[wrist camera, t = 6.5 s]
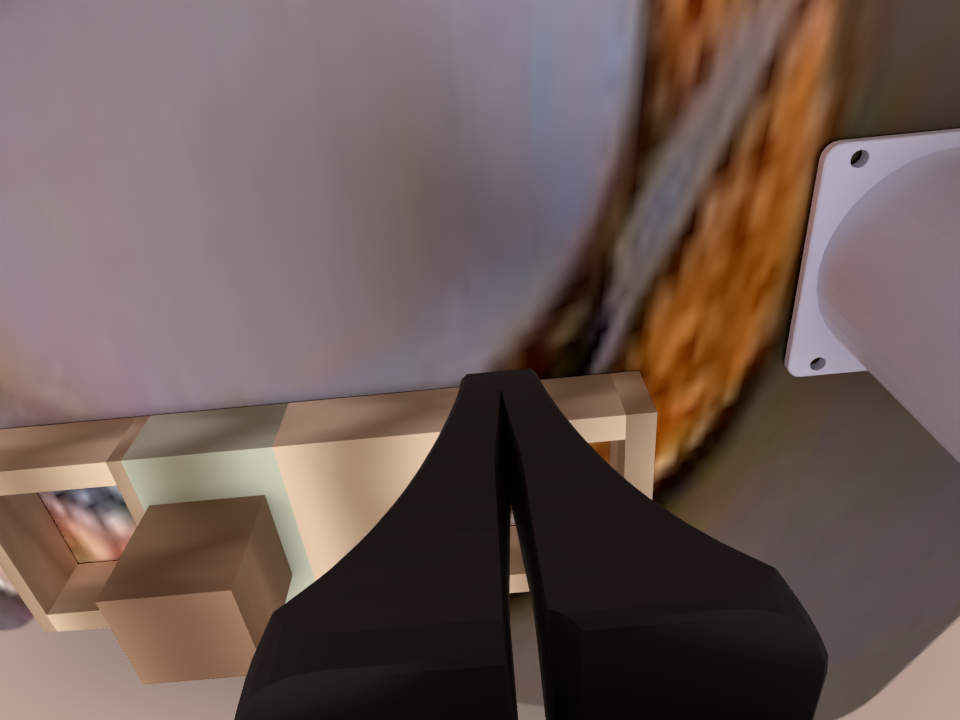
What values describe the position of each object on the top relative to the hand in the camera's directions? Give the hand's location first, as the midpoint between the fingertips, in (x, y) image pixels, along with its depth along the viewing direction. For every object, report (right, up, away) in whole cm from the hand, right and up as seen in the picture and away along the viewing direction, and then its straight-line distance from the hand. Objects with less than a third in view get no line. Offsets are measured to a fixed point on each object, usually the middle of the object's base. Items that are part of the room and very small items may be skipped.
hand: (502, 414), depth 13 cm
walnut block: (-10, -5, +11) cm, 16 cm away
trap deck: (-6, -4, +13) cm, 15 cm away
